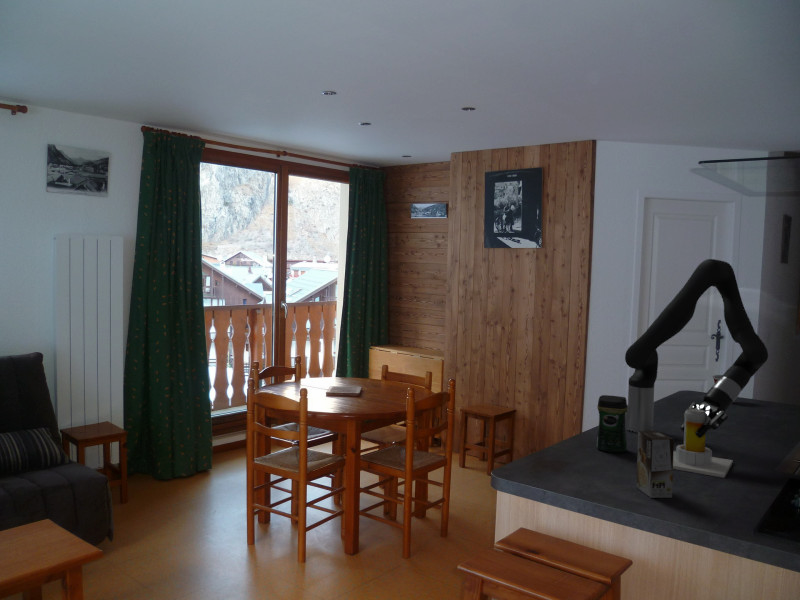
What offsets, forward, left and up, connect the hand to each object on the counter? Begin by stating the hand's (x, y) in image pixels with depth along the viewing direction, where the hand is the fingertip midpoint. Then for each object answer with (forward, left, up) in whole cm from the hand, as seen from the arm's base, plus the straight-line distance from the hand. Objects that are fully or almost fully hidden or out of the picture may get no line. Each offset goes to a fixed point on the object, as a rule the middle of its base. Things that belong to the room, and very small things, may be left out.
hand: (690, 433), depth 201 cm
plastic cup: (-6, +120, -10) cm, 121 cm away
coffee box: (-3, -34, -10) cm, 35 cm away
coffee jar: (-25, +2, -10) cm, 27 cm away
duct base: (+1, +1, -10) cm, 10 cm away
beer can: (+1, +1, -8) cm, 8 cm away
